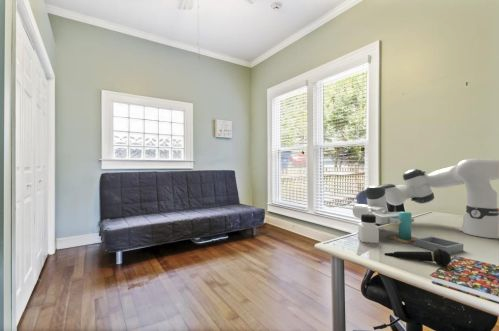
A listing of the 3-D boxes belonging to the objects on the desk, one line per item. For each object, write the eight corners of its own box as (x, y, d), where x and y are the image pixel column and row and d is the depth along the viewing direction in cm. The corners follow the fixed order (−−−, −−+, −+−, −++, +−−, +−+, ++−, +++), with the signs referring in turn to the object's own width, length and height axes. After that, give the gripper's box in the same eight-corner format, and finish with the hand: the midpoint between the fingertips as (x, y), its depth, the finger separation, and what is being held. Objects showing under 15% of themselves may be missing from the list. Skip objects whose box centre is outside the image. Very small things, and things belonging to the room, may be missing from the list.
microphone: (385, 264, 92) (453, 270, 82) (383, 251, 91) (452, 255, 81) (385, 256, 97) (449, 260, 86) (383, 243, 95) (448, 245, 85)
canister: (403, 236, 117) (403, 211, 117) (413, 239, 112) (413, 213, 112) (396, 237, 115) (396, 212, 115) (406, 240, 110) (406, 213, 110)
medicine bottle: (379, 243, 108) (379, 216, 108) (361, 242, 109) (362, 215, 109) (374, 238, 115) (374, 213, 115) (358, 237, 116) (358, 212, 116)
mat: (404, 236, 120) (404, 234, 120) (421, 240, 112) (421, 239, 112) (388, 239, 115) (388, 237, 115) (405, 244, 107) (405, 242, 107)
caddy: (431, 242, 110) (431, 236, 110) (463, 250, 100) (463, 243, 100) (415, 245, 105) (415, 239, 105) (446, 254, 95) (446, 247, 95)
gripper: (393, 220, 130) (420, 225, 117) (366, 223, 121) (392, 230, 109) (393, 208, 130) (420, 212, 117) (366, 210, 121) (392, 215, 109)
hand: (407, 221), depth 113 cm, fingers open, 8 cm apart
